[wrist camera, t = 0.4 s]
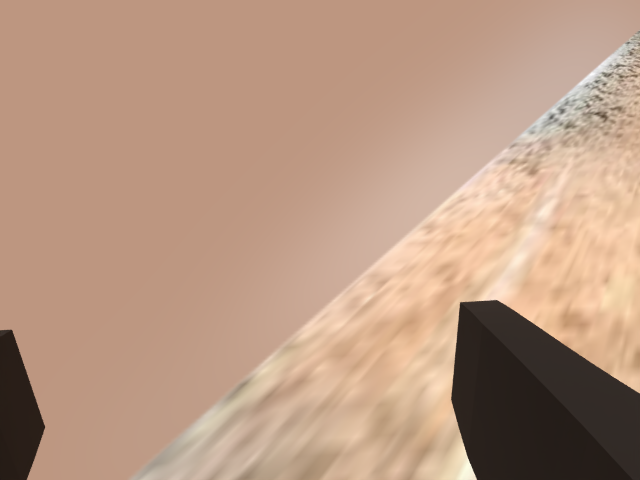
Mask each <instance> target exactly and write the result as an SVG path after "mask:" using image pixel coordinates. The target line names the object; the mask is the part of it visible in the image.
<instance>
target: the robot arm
mask: <svg viewBox="0 0 640 480" xmlns="http://www.w3.org/2000/svg"><path fill="white" fill-rule="evenodd" d="M451 400H452V404H453V408H454V411H455V415H456V419H457V422H458V426H459V430H460V433H461V436H462V440H463V443H464V446H465V450H466V453H467V456H468V459H469V461H470V464H471V466H472V469H473V471H474V473H475V476H476V478H477V480H640V393H638V392H636V391H635V390H633V389H631V388H630V387H628V386H627V385H625V384H623V383H622V382H620V381H619V380H617V379H616V378H614V377H612V376H611V375H609V374H608V373H606V372H605V371H603V370H602V369H600V368H598V367H597V366H595V365H594V364H592V363H591V362H589V361H588V360H586V359H585V358H583V357H582V356H580V355H579V354H577V353H576V352H574V351H573V350H571V349H570V348H568V347H567V346H565V345H564V344H562V343H561V342H560V341H558V340H557V339H555V338H554V337H552V336H551V335H549V334H548V333H546V332H545V331H543V330H542V329H540V328H539V327H538V326H536V325H535V324H533V323H532V322H530V321H529V320H527V319H526V318H524V317H523V316H521V315H520V314H518V313H517V312H515V311H514V310H512V309H511V308H509V307H508V306H506V305H504V304H503V303H501V302H499V301H498V300H491V301H475V302H460V310H459V321H458V332H457V343H456V353H455V364H454V375H453V386H452V397H451ZM44 429H45V425H44V423H43V420H42V417H41V414H40V411H39V408H38V405H37V402H36V399H35V396H34V393H33V390H32V387H31V384H30V381H29V378H28V375H27V372H26V369H25V367H24V364H23V361H22V358H21V355H20V352H19V349H18V346H17V343H16V340H15V337H14V334H13V331H12V330H0V480H27V477H28V475H29V472H30V469H31V467H32V464H33V461H34V459H35V456H36V453H37V449H38V447H39V444H40V441H41V438H42V435H43V432H44Z"/></svg>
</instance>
